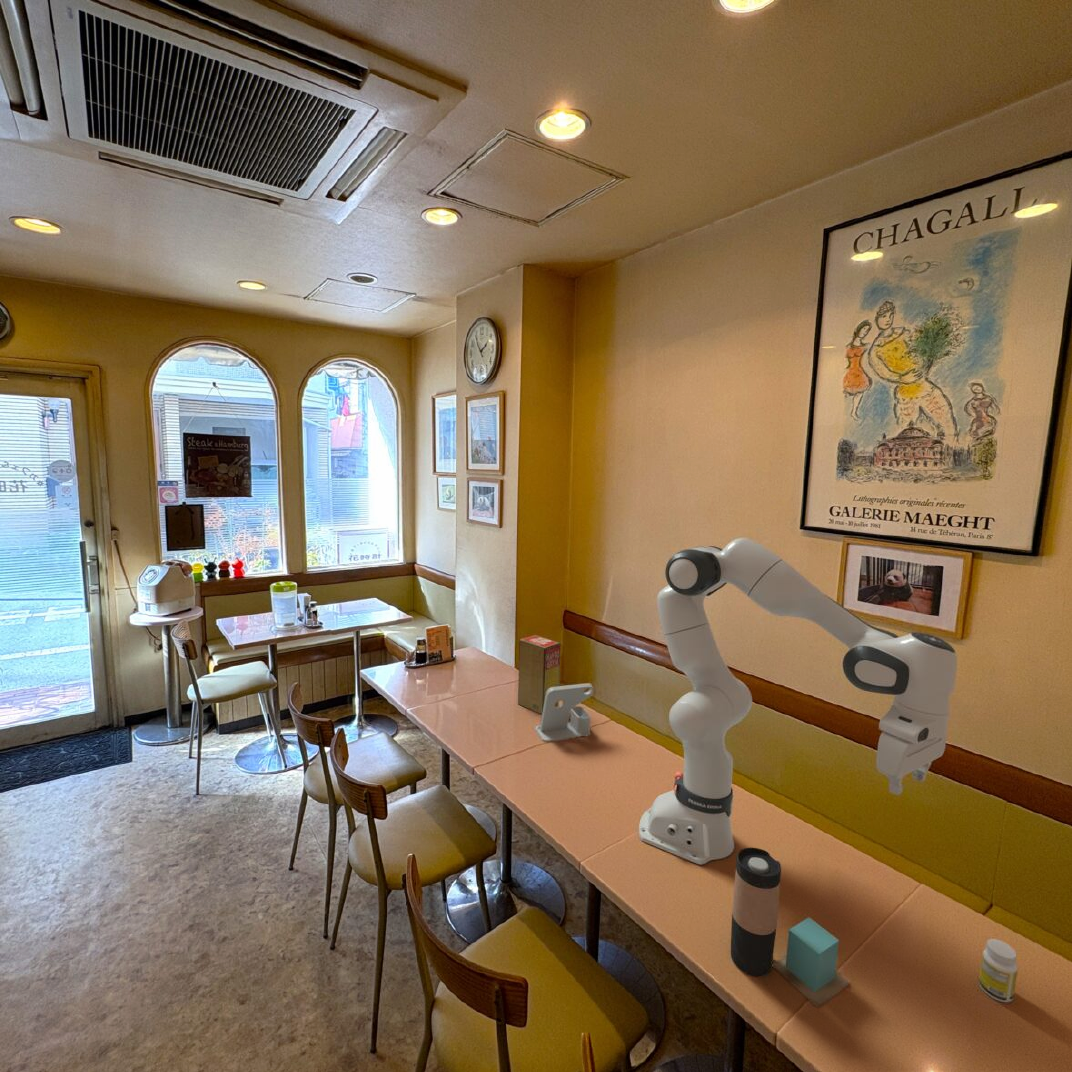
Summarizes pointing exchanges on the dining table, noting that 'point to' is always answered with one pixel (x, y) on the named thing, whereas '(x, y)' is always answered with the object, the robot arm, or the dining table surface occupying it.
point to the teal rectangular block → (812, 954)
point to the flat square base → (815, 998)
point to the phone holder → (565, 713)
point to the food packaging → (537, 671)
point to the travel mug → (755, 911)
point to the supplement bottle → (998, 971)
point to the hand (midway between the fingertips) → (906, 786)
